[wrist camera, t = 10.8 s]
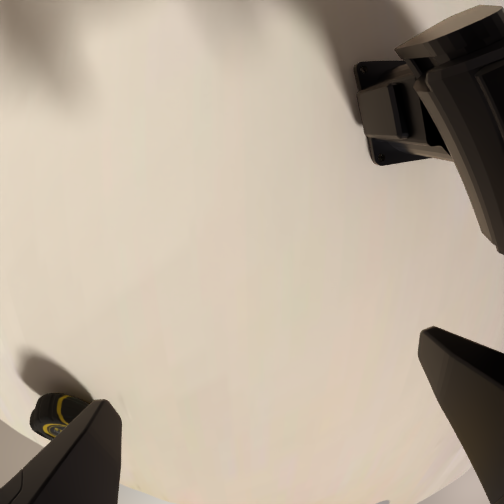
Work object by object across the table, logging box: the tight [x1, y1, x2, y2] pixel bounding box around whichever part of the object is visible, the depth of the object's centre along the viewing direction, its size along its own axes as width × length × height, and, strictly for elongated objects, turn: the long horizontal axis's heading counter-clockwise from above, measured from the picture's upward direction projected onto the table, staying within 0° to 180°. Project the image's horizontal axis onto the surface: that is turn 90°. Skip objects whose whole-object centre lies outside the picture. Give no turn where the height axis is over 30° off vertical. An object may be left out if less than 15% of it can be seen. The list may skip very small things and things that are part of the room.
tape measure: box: [30, 393, 89, 441], centre depth 21 cm, size 7×7×4 cm
